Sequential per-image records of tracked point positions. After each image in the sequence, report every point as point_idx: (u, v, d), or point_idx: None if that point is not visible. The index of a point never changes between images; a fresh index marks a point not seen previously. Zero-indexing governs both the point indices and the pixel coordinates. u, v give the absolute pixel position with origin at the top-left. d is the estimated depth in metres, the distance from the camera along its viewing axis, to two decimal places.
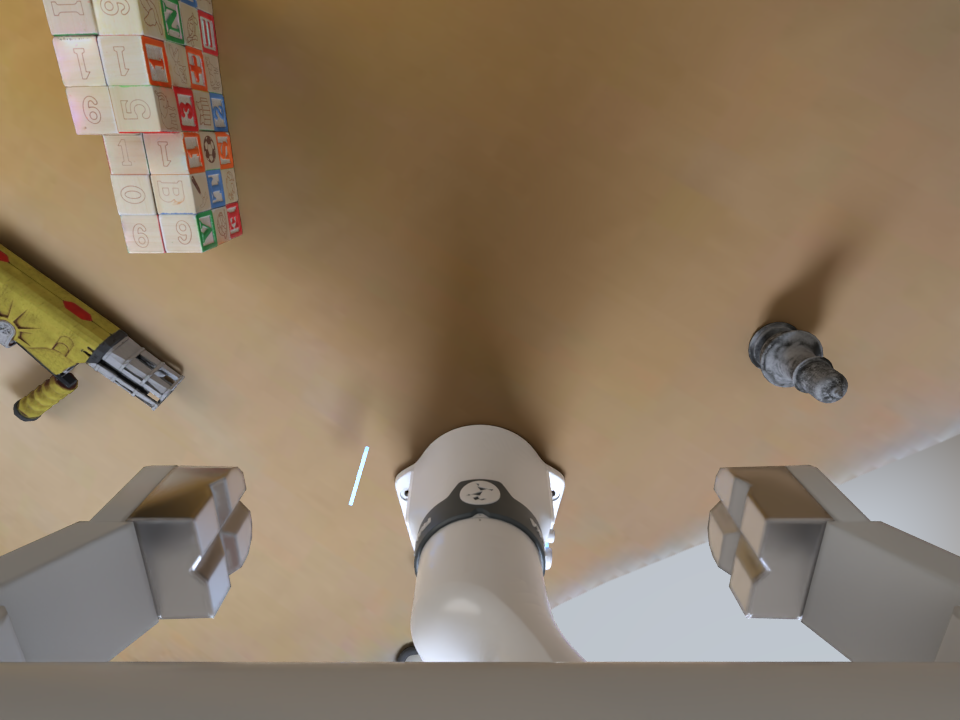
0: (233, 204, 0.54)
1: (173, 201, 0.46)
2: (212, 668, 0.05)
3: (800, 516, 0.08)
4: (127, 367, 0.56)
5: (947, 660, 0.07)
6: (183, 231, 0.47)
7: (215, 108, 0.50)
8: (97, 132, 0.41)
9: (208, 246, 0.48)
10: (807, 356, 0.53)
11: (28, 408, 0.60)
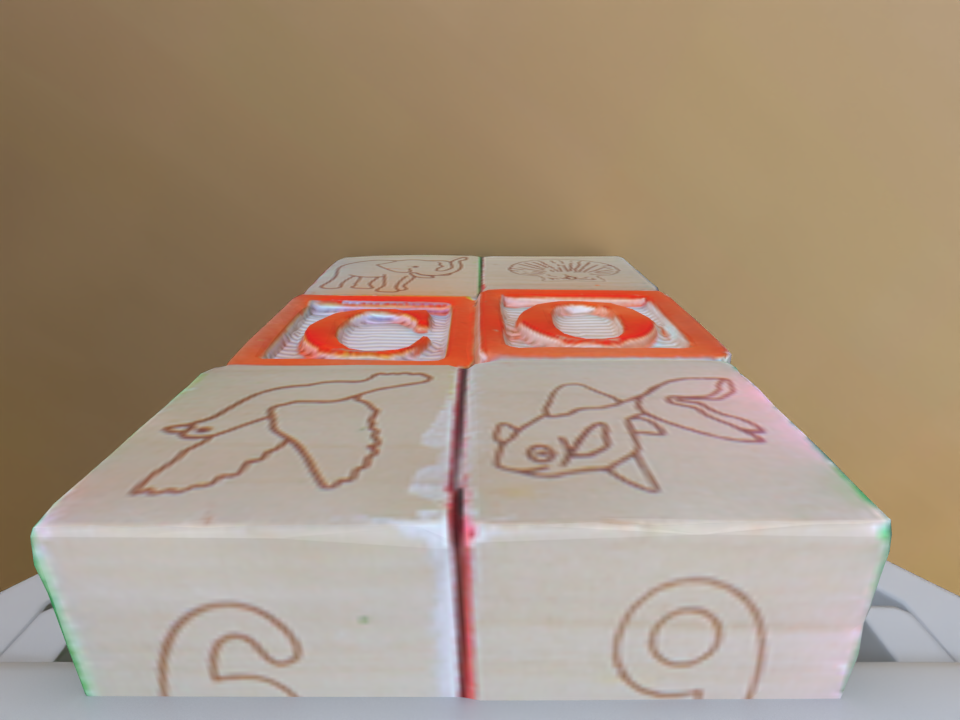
0: None
1: None
2: None
3: None
4: None
5: None
6: None
7: None
8: None
9: None
10: None
11: None
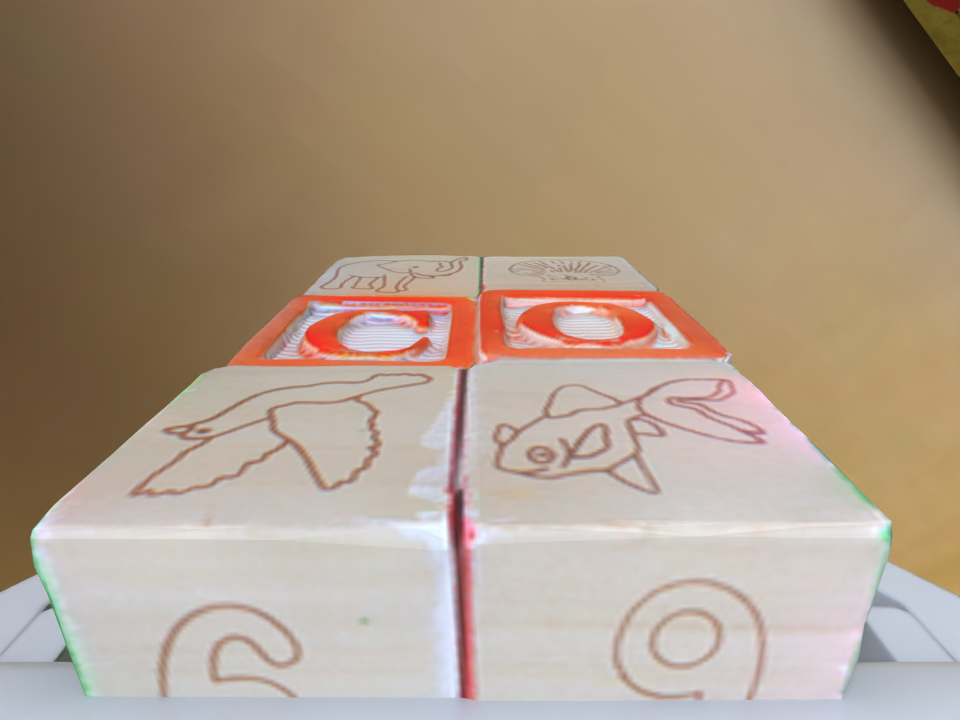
0: None
1: None
2: None
3: None
4: None
5: None
6: None
7: None
8: None
9: None
10: None
11: None
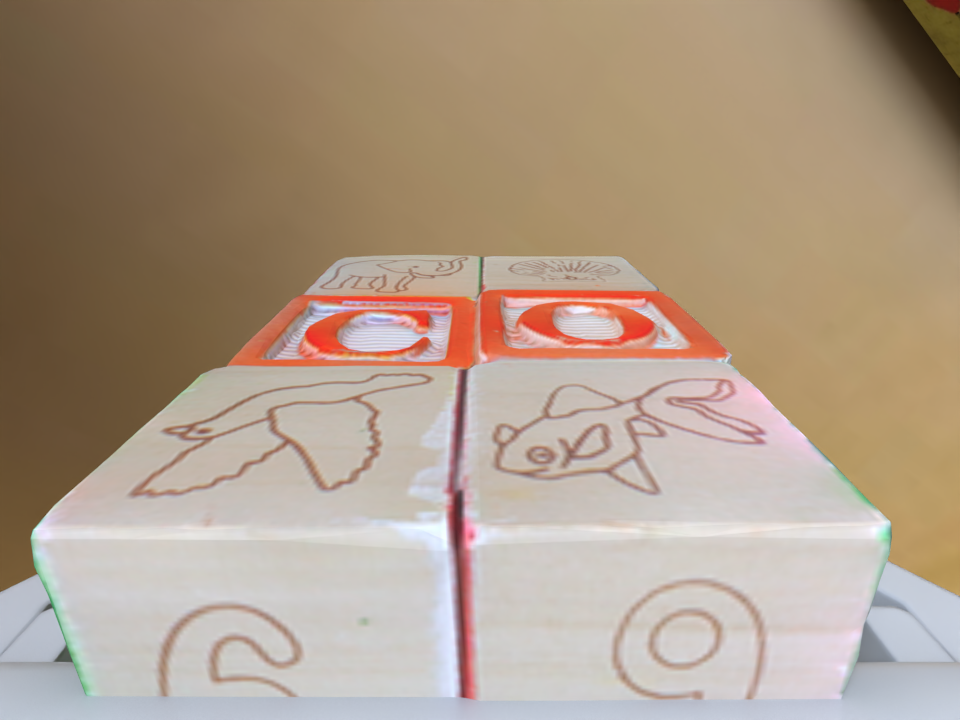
0: None
1: None
2: None
3: None
4: None
5: None
6: None
7: None
8: None
9: None
10: None
11: None
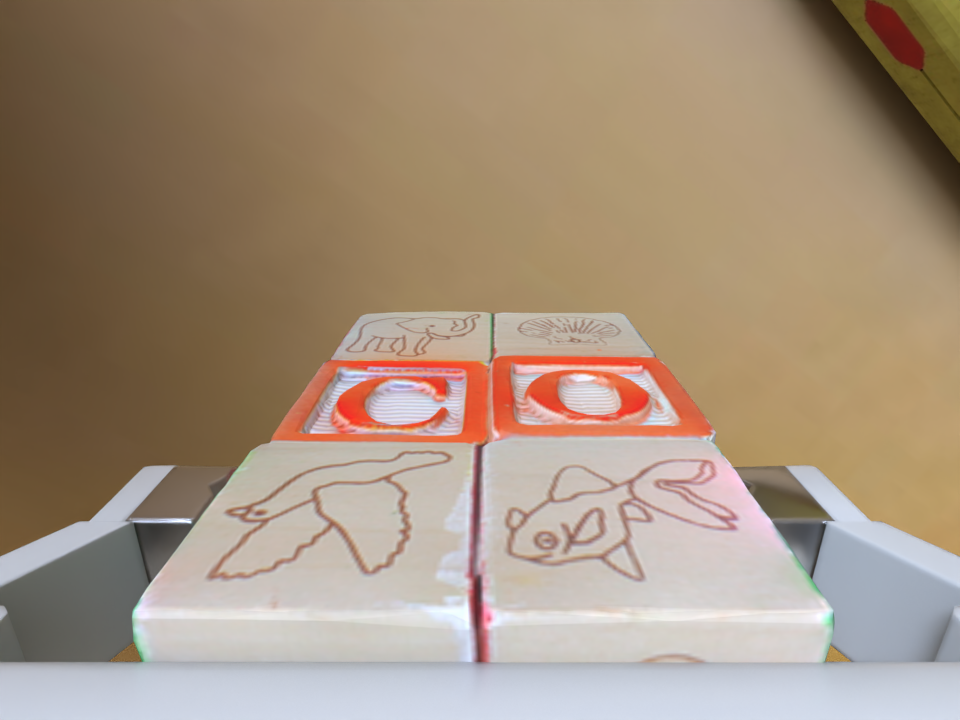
0: None
1: None
2: (212, 668, 0.05)
3: (800, 516, 0.08)
4: None
5: (947, 660, 0.07)
6: None
7: None
8: None
9: None
10: None
11: None
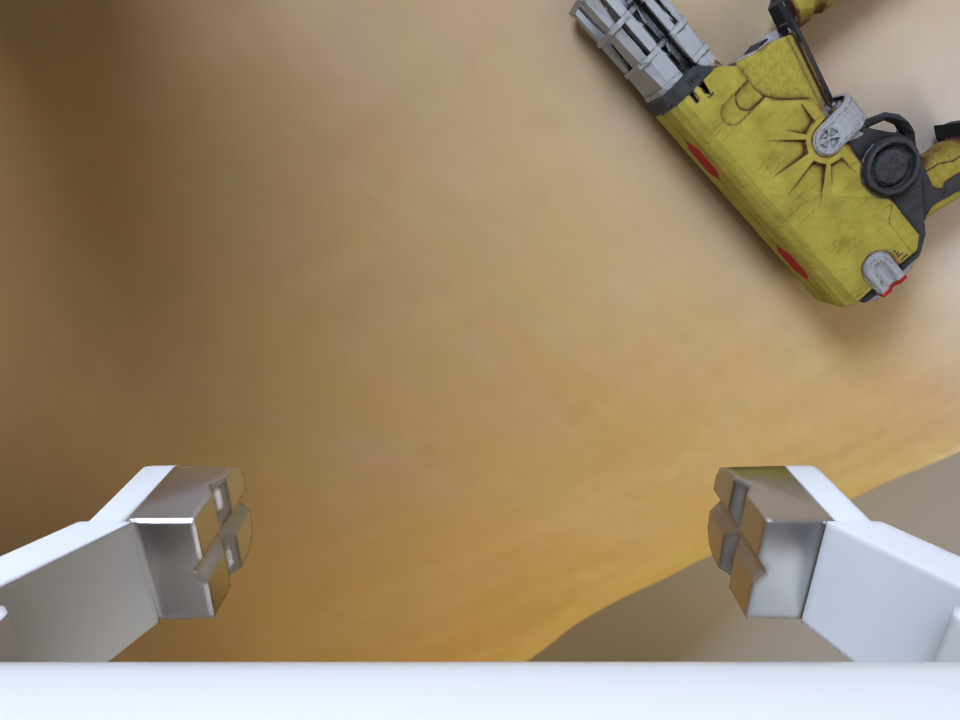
0: None
1: None
2: (212, 668, 0.05)
3: (800, 516, 0.08)
4: (642, 55, 0.30)
5: (947, 660, 0.07)
6: None
7: None
8: None
9: None
10: None
11: None
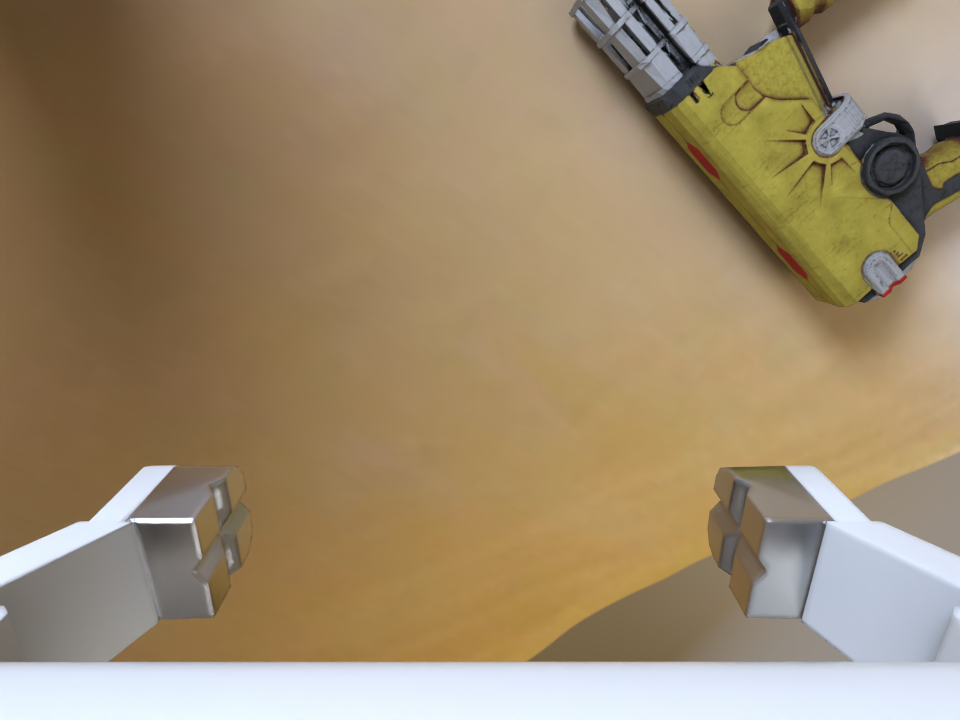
0: None
1: None
2: (212, 668, 0.05)
3: (800, 516, 0.08)
4: (642, 55, 0.30)
5: (947, 660, 0.07)
6: None
7: None
8: None
9: None
10: None
11: None
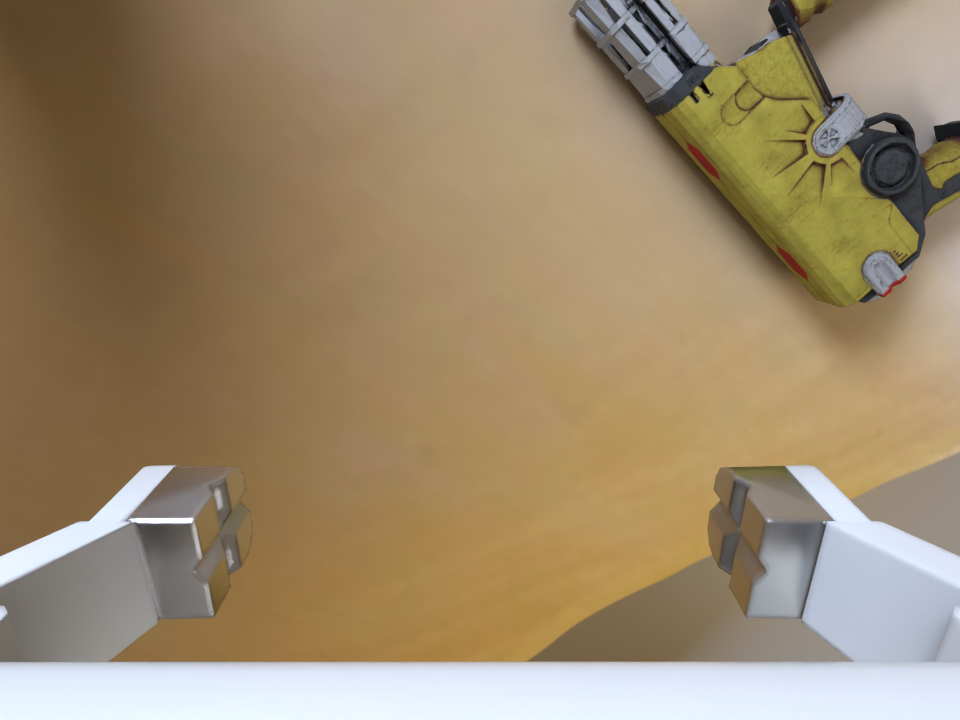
0: None
1: None
2: (212, 668, 0.05)
3: (800, 516, 0.08)
4: (642, 55, 0.30)
5: (947, 660, 0.07)
6: None
7: None
8: None
9: None
10: None
11: None
